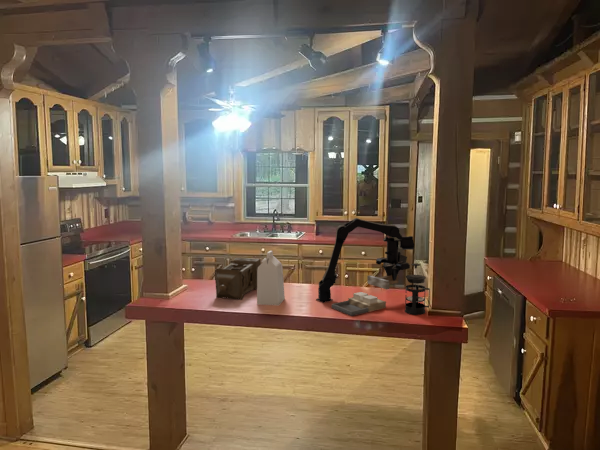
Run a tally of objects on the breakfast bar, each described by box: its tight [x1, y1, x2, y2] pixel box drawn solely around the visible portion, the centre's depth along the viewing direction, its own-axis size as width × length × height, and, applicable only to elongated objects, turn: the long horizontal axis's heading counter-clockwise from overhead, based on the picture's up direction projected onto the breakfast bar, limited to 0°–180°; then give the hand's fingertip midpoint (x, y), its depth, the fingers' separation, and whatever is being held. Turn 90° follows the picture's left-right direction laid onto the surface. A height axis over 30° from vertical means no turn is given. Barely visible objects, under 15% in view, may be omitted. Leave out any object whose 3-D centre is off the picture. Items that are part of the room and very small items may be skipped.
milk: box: [256, 250, 286, 306], centre depth 233 cm, size 12×12×26 cm
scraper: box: [366, 274, 399, 290], centre depth 230 cm, size 14×14×4 cm
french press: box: [404, 263, 431, 316], centre depth 212 cm, size 12×9×23 cm
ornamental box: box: [214, 257, 262, 301], centre depth 246 cm, size 35×18×18 cm, turn 162°
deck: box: [347, 297, 387, 313], centre depth 224 cm, size 15×11×3 cm
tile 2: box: [363, 294, 379, 304], centre depth 220 cm, size 5×5×2 cm
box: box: [331, 299, 369, 317], centre depth 218 cm, size 15×10×2 cm
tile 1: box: [353, 291, 369, 301], centre depth 226 cm, size 5×5×2 cm
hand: (392, 280), depth 232 cm, fingers closed on scraper, 2 cm apart
